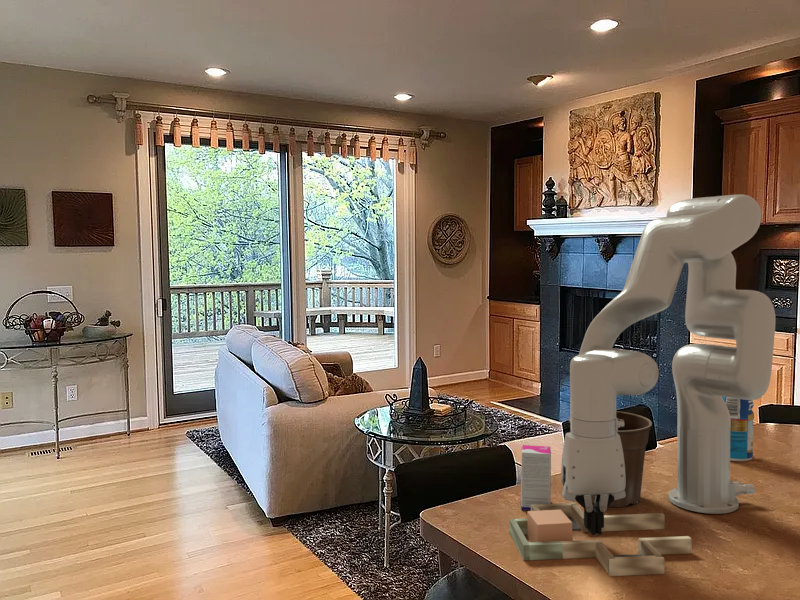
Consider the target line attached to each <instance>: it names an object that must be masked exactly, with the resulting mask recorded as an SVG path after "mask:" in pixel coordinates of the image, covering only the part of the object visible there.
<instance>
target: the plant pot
mask: <svg viewBox="0 0 800 600" xmlns="http://www.w3.org/2000/svg"><path fill="white" fill-rule="evenodd" d="M616 417H617V419H619V420H621V419H623V420H624V427H620V428H618V430H617V433H618V434H619V435H620V439H621V443H622V448H623V454H624V462H625V474H626V486H625V494H626V496H625V497H624V498H621V499H618V500H613V502H612V503H611V504H610V505H609V506H608V507H607V508H624V507H625V508H626V507H628V505H630V504H632V505H636V504H638V503H639V502H640V500H641V497H642V485H643V475H644V464H645V457H646V454H645V453H646V447H647V444H648V443H649V435H650V429H651V428H652V426H653V422H652V421H651V420H650V419H649V418H647V417H645V416H642V415H640V414H639V415H638V414H635V413H631V412H625V411H617V410H616ZM568 423H569V424H570V425H571V423H570V416H568ZM595 496H596V495H591V499H592V505H594V504H595Z"/></svg>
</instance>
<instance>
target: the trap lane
mask: <svg viewBox="0 0 800 600" xmlns="http://www.w3.org/2000/svg"><path fill="white" fill-rule="evenodd" d="M560 509H561V510H562V512H563V513H564V514H565V515H566V516H567V517H568V518H569V520H570V521H571V522H572V531H581V532H582V533H590V532H589V531H588V529H586V528H585V526H584V511H583V510H582V509H581V508H580V507H579V506H578V504H576V502H566V503H565V502H562V503H551V504H534V505H531V510H530V511H541V510H560ZM508 520H509V524H508V525H509V526H508V527H509V529H508V530H509V535H510V537H511V538H512V540H513V542H514V544H515V547H516V548H517V550H518V551H519V555H520V556H521V558H522V560H523V561H535V560H536V561H539V560H561V559H562V560H563V559H567V560H568V559H582V558H583V559H584V558H585V559H586V558H587V559H588V558H596V559H597V560H598V562H599V563H600V565H601V566H602V567H603V569H605V571H606V572H607V574H608V575H609V576H610V577H620V576H621V577H622V576H643V575H645V576H647V575H664V574H665V557H664V556H663V555H681V554H682V555H683V554H692V538H691V537H690V536H689V535H682V536H661V537H660V536H658V537H655V536H654V537H638V539H637V541H638V542H637V543H638V546H637V548H638V549H637V550H638V551H637V552H638V553H636V554H615V555H614V554H613V553H612V552H611V551H610V550H609V549H608V548H607V546H606V545H605V544H604V543H603V542H602V541H601V540H600V539H584V540H583V539H582V540H572V541H554V542H530V541H528V539H527V538H526V536H525V535H528V527H527V517H525V518H524V517H523V518H509V519H508ZM665 524H666V523H665V514H664V513H662V512H661V513H660V512H657V513H655V512H654V513H633V514H610V515H609V514H604V528H602V532H615V531H617V532H618V531H619V532H620V531H644V530H665V528H666V527H665Z"/></svg>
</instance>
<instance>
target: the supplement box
mask: <svg viewBox="0 0 800 600" xmlns="http://www.w3.org/2000/svg"><path fill="white" fill-rule="evenodd" d="M551 451H552V450H551V446H547V445H546V446H545V445H529V444H528V445H527V444H524V445H523V444H522V446H521V471H520V473H521V478H520V479H521V481H520V483H521V484H520V510H521V509H523V510H522V511H531V505H534V504H552V502H551V498H552V497H551V495H552V493H551V491H552V490H551V487H552V477H551V476H552V470H551V469H552V452H551Z"/></svg>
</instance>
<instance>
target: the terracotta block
mask: <svg viewBox="0 0 800 600" xmlns="http://www.w3.org/2000/svg"><path fill="white" fill-rule="evenodd" d="M526 512H527V514H526V515H527V517H526V518H527V527H528V534H527V541H528V542H554V541H573V530H572V522H571V521H570V520H569V518H568V517H567V516H566V515H565V514H564V513H563V512H562V510H561V509H560V510H541V511H531V510H526Z"/></svg>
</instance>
